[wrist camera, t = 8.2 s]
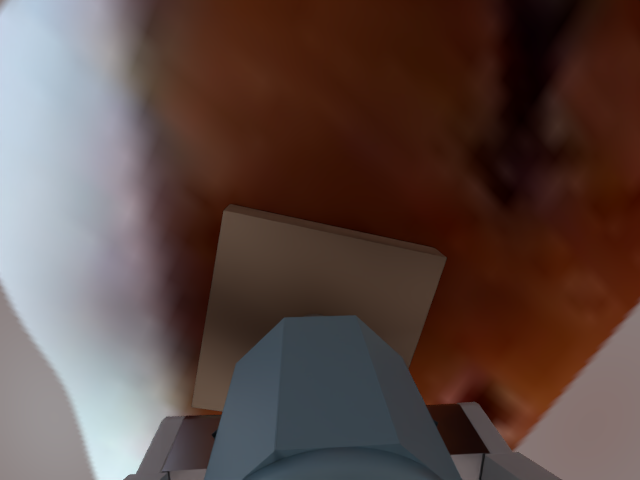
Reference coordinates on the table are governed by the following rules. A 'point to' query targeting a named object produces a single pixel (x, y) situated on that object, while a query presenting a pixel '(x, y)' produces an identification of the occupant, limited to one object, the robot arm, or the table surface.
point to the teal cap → (326, 410)
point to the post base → (307, 288)
